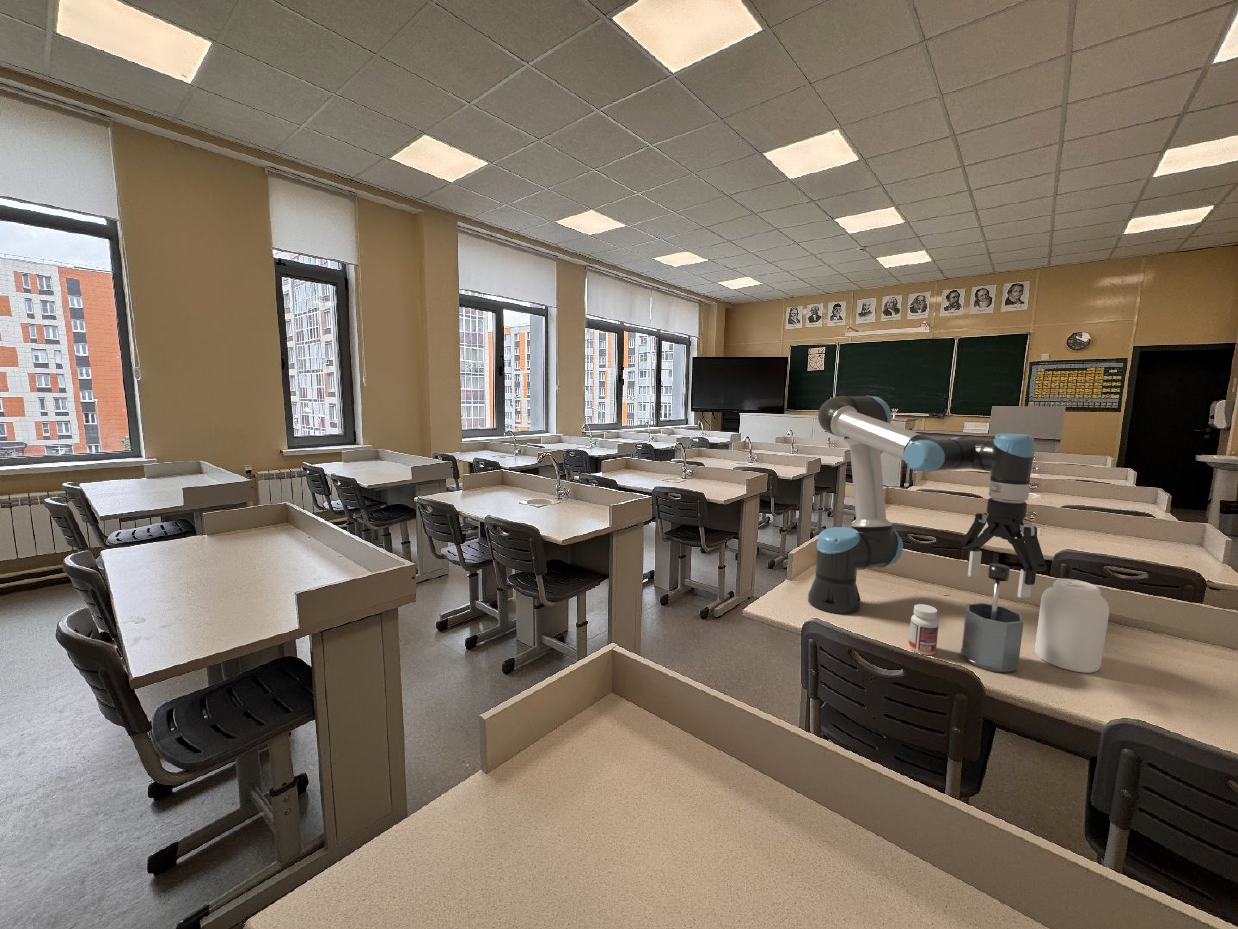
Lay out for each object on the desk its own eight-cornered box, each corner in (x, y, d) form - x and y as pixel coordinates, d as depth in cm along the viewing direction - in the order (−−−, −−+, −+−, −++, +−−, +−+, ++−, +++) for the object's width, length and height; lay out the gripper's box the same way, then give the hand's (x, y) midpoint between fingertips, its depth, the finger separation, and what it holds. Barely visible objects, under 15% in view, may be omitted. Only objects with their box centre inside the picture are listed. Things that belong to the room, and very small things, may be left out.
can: (1031, 661, 129) (1041, 584, 126) (1036, 642, 138) (1046, 570, 135) (1099, 680, 121) (1112, 598, 118) (1100, 659, 130) (1112, 583, 127)
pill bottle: (940, 651, 134) (944, 609, 132) (928, 658, 130) (932, 615, 129) (916, 641, 139) (919, 601, 137) (903, 648, 135) (907, 606, 134)
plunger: (960, 648, 132) (969, 561, 129) (987, 644, 134) (998, 559, 131) (990, 665, 124) (1001, 573, 121) (1018, 661, 126) (1030, 571, 122)
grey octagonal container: (949, 651, 134) (954, 605, 132) (994, 645, 137) (999, 600, 135) (989, 675, 123) (995, 625, 121) (1038, 669, 126) (1044, 620, 124)
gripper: (950, 489, 134) (942, 569, 138) (1047, 513, 110) (1034, 608, 114) (975, 488, 136) (966, 567, 139) (1075, 511, 112) (1062, 605, 115)
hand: (997, 585), depth 126 cm, fingers open, 13 cm apart
